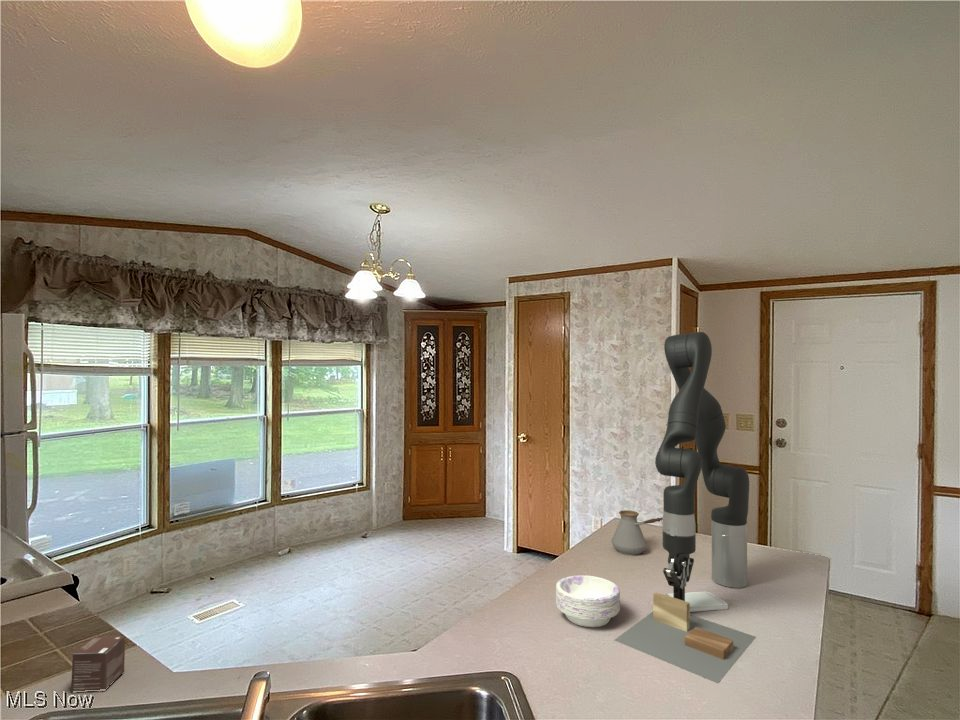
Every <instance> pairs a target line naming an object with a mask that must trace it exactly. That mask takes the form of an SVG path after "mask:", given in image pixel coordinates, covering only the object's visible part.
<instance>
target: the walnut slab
mask: <svg viewBox="0 0 960 720" xmlns="http://www.w3.org/2000/svg"><path fill="white" fill-rule="evenodd" d="M685 645H686V646H688V647H691V648H694V649H696V650H699V651H701V652H704V653H707V654H709V655H712V656H715V657H717V658H720V659H722V660H724V659H725V658H726V656H727V655H728V654H729V653H730V652H731V651H732V650H733V640H731V639H728V638H726V637H723V636H720V635H717V634H714V633H711V632H708V631H706V630H703V629H700V628H697V627H695V628H694V629H693V630H692V631H690V632H689V633H688V634H687V635H686V636H685Z"/></svg>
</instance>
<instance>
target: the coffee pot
mask: <svg viewBox="0 0 960 720" xmlns="http://www.w3.org/2000/svg"><path fill="white" fill-rule="evenodd" d="M618 514H619V515H620V520H619V522H618V524H617V526H616V529H615V532H614V534H613V537H612V538H611V540H610V541H611V544H612V546H613V548H614V549H615V550H617V552H618V553H620V554H622V555H626V556H627V555H628V556H637V555H640V554H642V552H644V551H645V550H646V547H647V546H648V545H647V540H646V539H645V536H644V534H643V531H642V529H641V527H640V526H641V525H644V524H645V525H646V524H653V523H656V522H661V524H662V525H663V517H657V518H649V519H647V520H644V521H638V516H639V515H640V514H639V512H637V511H635V510H628V509H627V510H620V511H618Z"/></svg>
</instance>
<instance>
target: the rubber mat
mask: <svg viewBox="0 0 960 720" xmlns="http://www.w3.org/2000/svg"><path fill="white" fill-rule="evenodd" d="M695 627H697V628H700V629H703V630H706V631H708V632H711V633H714V634H717V635H720V636H723V637H726V638H728V639H731V640H733V650H732V651H731V652H730V653H729V654H728V655H727V656H726V658H725V659H724V660H722V659H720V658H717V657H715V656H712V655H709V654H707V653H704V652H701V651H699V650H696V649H694V648H691V647H688V646H686V645H685V636H686V635H687V634H688V633H689V632H690V631H692V630H693V629H694V628H695ZM756 638H757V636H755V635H752V634H749V633H746V632H744V631H740V630H737V629H734V628H732V627H728V626H725V625H722V624H719V623H716V622H714V621H713V622H712V621H710V620H708V619H705V618H701V617H698V616H695V615H693V614H690V629H689V630H688V631H687V632H686V631H683V630H681V629H678V628H675V627H672V626H670V625H667V624H664V623H661V622H659V621H656V620H653V611H651V612H650V613H648V614H647V615H646V616H645V617H643V618H642V619H640V620H639V621H637V622H636V623H635V624H633V626H631V627H629V628H628V629H627V630H626V631H624V632H623V633H621V635H619V636H617V637H616V638H615V639H614V641H615V642H618V643H620V644H622V645H624V646H627V647H629V648H632V649H634V650H637V651H639V652H642V653H644V654H646V655H648V656H651V657H654V658H656V659H658V660H660V661H663V662H666V663H667V664H671V665H673V666H675V667H678V668H679V669H682V670H685V671H687V672H689V673H692V674H693V675H697V676H699V677H702V678H703V679H707V680H709V681H711V682H714V683H716V684H719V683H720V682H721V681H722V680H723V678H724V677H725V676H726V675H727V673H728V672H729V671H730V670H731V668H732V667H733V666H734V665H735V663H736V662H737V661H738V660H739V659H740V657H741V656H742V655H743V654H744V653H745V651H746V650H747V649H748V648H749V646H750V645H752V643H753V642H754V640H755V639H756Z"/></svg>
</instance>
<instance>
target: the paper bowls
mask: <svg viewBox="0 0 960 720" xmlns="http://www.w3.org/2000/svg"><path fill="white" fill-rule="evenodd" d="M620 599H621V591H620V588H619V586H618V585H617V584H616V583H614V582H613V581H611V580H608V579H606V578H604V577H600V576H596V575H595V576H593V575H586V574H585V575H583V574H582V575H581V574H580V575H579V574H576V575H570V576H567V577H563V578H560V579H559V580H558V581H557V583H556V584H555V606H556V608H558V610H559V611H560V612H562V613H563V614H564V615H565V617H566V619H568V621H570V623H573V624H575V625H577V626H581V627H584V628H585V627H586V628H600V627H603V626H606V625H607V624H608V623H609V622H610V620H611V618H614V617H615V616H617V615H618V614H619V613H620V611H621V606H620V605H621V602H620V601H621V600H620Z"/></svg>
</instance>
